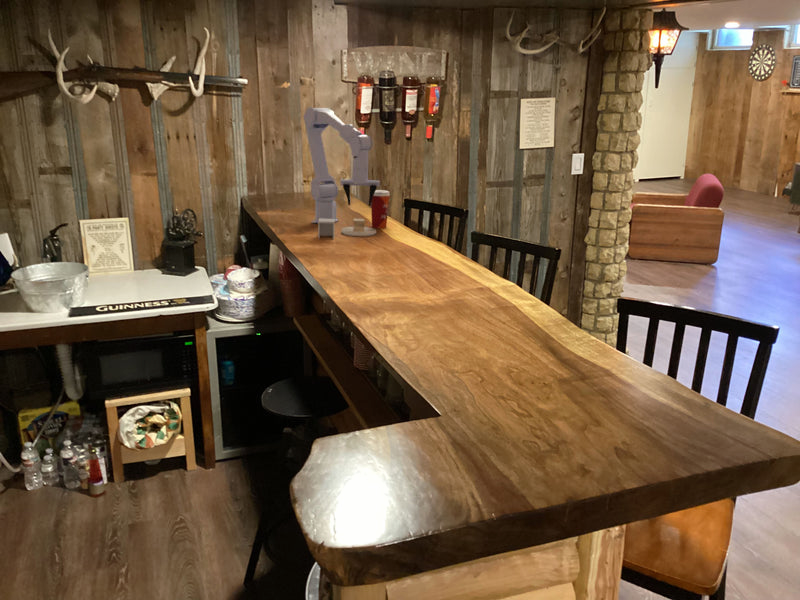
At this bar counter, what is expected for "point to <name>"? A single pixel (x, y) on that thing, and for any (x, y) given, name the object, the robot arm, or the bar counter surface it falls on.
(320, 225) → the grey open box
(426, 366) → the bar counter surface
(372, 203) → the paper cup
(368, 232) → the ceramic dish
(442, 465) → the bar counter surface
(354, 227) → the maple block
